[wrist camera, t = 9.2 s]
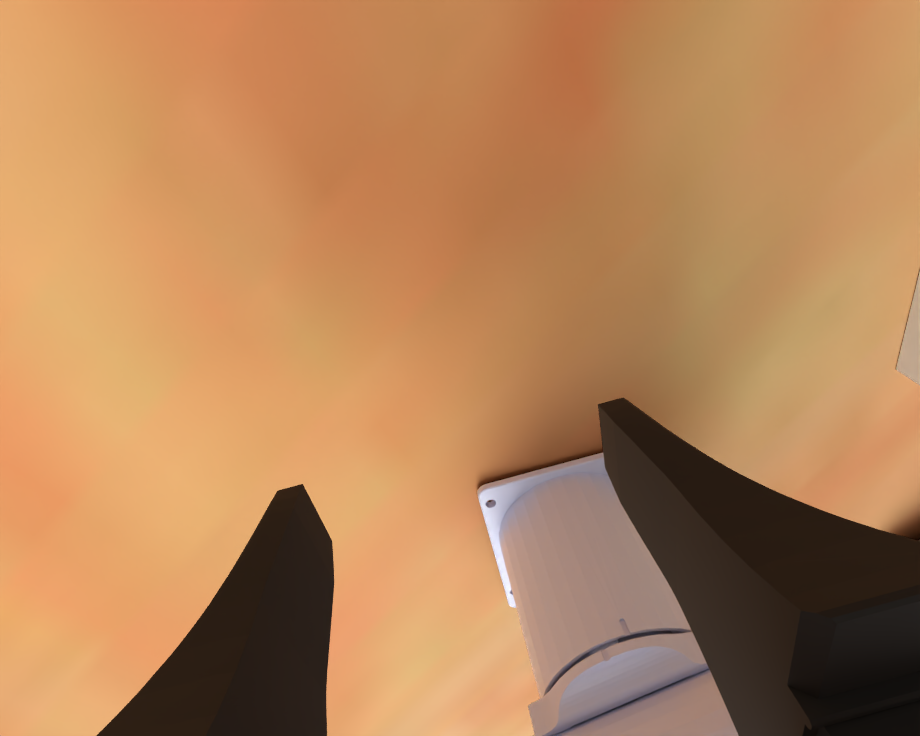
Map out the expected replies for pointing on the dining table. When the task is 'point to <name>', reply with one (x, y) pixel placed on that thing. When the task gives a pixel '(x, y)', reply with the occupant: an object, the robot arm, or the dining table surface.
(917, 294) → the dock
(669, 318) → the dining table surface
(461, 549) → the dining table surface
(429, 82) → the dining table surface
